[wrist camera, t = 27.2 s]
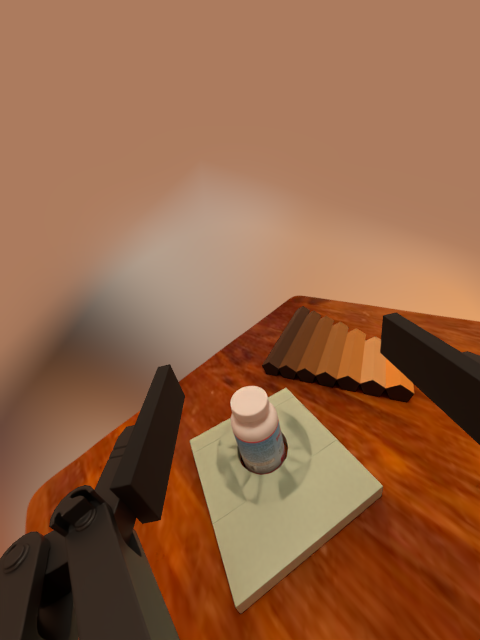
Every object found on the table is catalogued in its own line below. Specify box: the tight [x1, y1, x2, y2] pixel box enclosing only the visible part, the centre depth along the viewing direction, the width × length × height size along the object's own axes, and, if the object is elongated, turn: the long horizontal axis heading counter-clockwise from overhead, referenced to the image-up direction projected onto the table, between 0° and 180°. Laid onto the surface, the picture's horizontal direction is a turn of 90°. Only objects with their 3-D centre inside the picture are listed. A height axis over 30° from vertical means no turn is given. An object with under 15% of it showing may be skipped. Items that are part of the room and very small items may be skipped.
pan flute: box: [262, 306, 415, 402], centre depth 49 cm, size 25×3×25 cm
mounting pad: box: [190, 388, 383, 614], centre depth 30 cm, size 18×18×2 cm
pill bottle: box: [230, 386, 285, 475], centre depth 29 cm, size 6×6×11 cm
